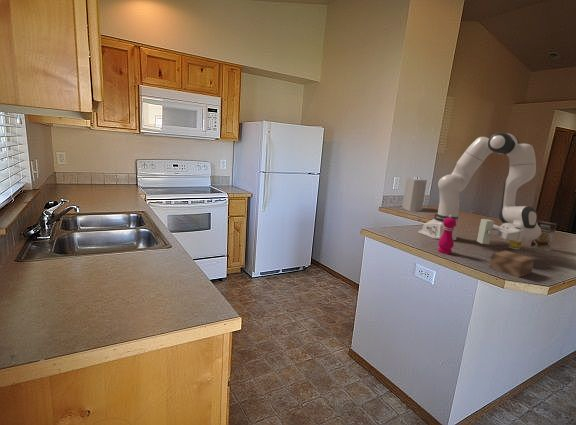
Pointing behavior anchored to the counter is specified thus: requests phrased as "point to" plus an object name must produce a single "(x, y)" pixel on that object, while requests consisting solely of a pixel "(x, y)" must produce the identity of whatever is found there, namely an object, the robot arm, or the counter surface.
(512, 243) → the supplement bottle
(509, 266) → the walnut riser block
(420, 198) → the paper bag
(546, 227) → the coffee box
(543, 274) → the counter surface
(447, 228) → the pepper mill
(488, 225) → the sage block
